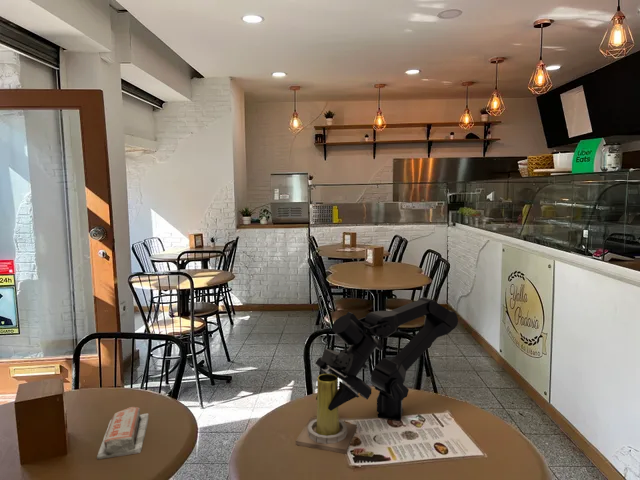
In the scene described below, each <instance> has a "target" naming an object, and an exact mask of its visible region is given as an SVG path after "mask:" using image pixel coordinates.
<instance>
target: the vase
mask: <svg viewBox="0 0 640 480" xmlns="http://www.w3.org/2000/svg"><path fill="white" fill-rule="evenodd" d="M316 379H317V381H316V382H317V387H316V388H317V390H316V392H317V393H316V397H317V400H316V418H317V426H316V431H317V433H318V434H320V435H325V436H330V435H336V434H337V433H338V432H339V431H340V429H339V419H340V416H339V415H340V414H339V406H338V407H337V408H335V409H333V410H332V411H330V410H329V409H328V407H329V405H330V403H331V401H332V399H333V398H334V396H335V395H336V393H337V391H338V390H339V378H338V377H337V376H336V375H334V374H321V373H320V374H319V375H318V376H317V378H316Z"/></svg>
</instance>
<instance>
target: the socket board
mask: <svg viewBox="0 0 640 480" xmlns="http://www.w3.org/2000/svg"><path fill="white" fill-rule="evenodd" d="M316 426H317V417H310V418H308V421H307V423H306V425H304V427H303V429H302V430H301V432H300V433H299V435H298V437H296V440H295V445H296V446H301V447H308V448H313V449H318V450H323V451H330V452H334V453H339V454H340V453H341V454H347V453H348V451H349V448H350V446H351V443H352V441H353V438H354V436H355V433H356V431H357V429H358V424H357V423H356V424H355V423H350V422H345V421H343V420H341V418H339V429H340V431H339V432H338V433H337V434H336V435H330V436H325V435H320V434H318V433H317V431H316Z"/></svg>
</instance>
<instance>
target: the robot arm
mask: <svg viewBox="0 0 640 480" xmlns="http://www.w3.org/2000/svg"><path fill="white" fill-rule="evenodd" d="M424 316H425V317H424ZM421 317H424V318H425V319H424V326H422V328H421V329H420V330H419V331H418V332H417V333H416V334H415V335H414V336H413V337H412V338H411V339H410V340H409V341H408V343H406V345H405V346H404V347H402V349H401V350H399V352H398V353H397V354H396V355H395V356H394V357H393V358H391V359H388V358H385V357H383V358H381V359H380V360H379V362H378V363H376V364H375V365H374V366H373V369H372V371H371V373H370V374H371V375H370V376H371V377H370V381H371V384H372V385H373V386H374V390H376V391H378V392H379V393H378V395H377V398H376V413H377V418H379V419H385V420H392V421H398V422H399V421H401V420H402V417H403V412H404V408H403V400H404V399H405V398H407V397H408V396H409V395H408V394H409V388H408V387H407V386H406V385H404V383H405V382H406V381H405V380H406V374H407V371H408V370H409V369H410V368H411V367H412V366H413V365H414V364H415V362H416V361H417V360H418V359H419V358H420V357H421V356H422V355H424V353H425V352H426V350H428V348H429V347H430V346H431V345H432V344H433V343H434V342H435V341H436V340H437V339H438V338H440V337H444V336H446V335H449V334H450V333H451V332H452V331H454V330H455V329H456V327H457V326H458V324H459V323H458V322H459V318H458V315H457V313H456V312H455V311H453V310H450V309H447V308H446V307H444V306H442V305H441V304H440V303H438V302H437V301H436V300H435V299H432V298H429V297H428V298H427V297H424V296H423V297H419V299H417V300H415V301H412V302H409V303H407V304H404V305H402V306H399V307H397V308H394V309H391V310H390V309H389V310H377V311H376V310H375V311H371V312H369V313H367V314H366V315H365V317H361V318H357V316H356V315H355V314H354V313H353V312H350V311H348V312H347V313H346V314H345V315H341V316H339V317H338V318H337V319H336V320H335V321H334V323H333V325H332V332H333V333H334V334H335V335H336V336H337V337H339V338H340V339H341V340H342V341H343V342H344V343H345V344H346V345H348V346H349V347H348V349H345V348H343V349H341V351H339V352H338V351H335V350H332V349H328V348H324V350H323V353H322V355H321V357H318V358H317V360H316V361H315V363H314V364H315V365H316V366H317V367H318V368H319V372H320V375H321V374H334V375H336V376H337V377H338V391H337V393H336V395H335V396H334V398H333V399H332V401H331V403H330V405H329V407H328V409H329V410H330V411H332V410H333V409H335V408H337V407H338V408H339V407H340V406H342V405H343V404H345V403H347V402H349V401H351V400H353V399H355V398H357V399H359V397H360V396H361V397H362V398H364V399H365V400H368V399H369V398H370V397H371V395H372V387H370V386H369V385H368V384H367V383H366V382H365V381H364V380H362V379H361V378H360V377H358V375H359V373H360V371H362V369H363V370H366V369H367V367H368V365H367V364H366V362H367V361H368V359H369V358H370V357H371V355H372V353H373V352H374V351H375V349H376V350H379V351H380V352H381V351H382V350H383V348H382V347H383V346H382V340H381V339H379V338H382V339H385V338H388V337H389V336H391V335H392V334H394V333H395V332H396V331H397V330H398V328H399V327H400V326H402V325H405V324H407V323H410V322H412V321H414V320H417V319H419V318H421ZM366 332H367V333H366ZM373 335H374V336H377V337H379V338H377V337H374V336H373ZM342 381H343V382H344V383H343V382H342ZM359 395H360V396H359ZM315 400H316V401H317V396H316V398H315Z"/></svg>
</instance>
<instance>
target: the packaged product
mask: <svg viewBox="0 0 640 480" xmlns="http://www.w3.org/2000/svg"><path fill="white" fill-rule="evenodd" d="M140 412H141V408H140V407H137V406H136V407H135V406H130V407H128V408H125V409H122V410H119V411H116V412H115V413H114V414H113V416H112V417H111V419H110V420H109V422H108V426H107V429H106V431H105V433H104V436H103V440H102V442H101V445H100V448H99V449H98V452H97V456H96V459H97V460H104V459H109V458H117V457H124V456H129V455H134V454H140V453H141V452H142V449H143V444H144V441H145V437H146V432H147V429H148V423H149V413H142V414H141V413H140Z"/></svg>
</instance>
